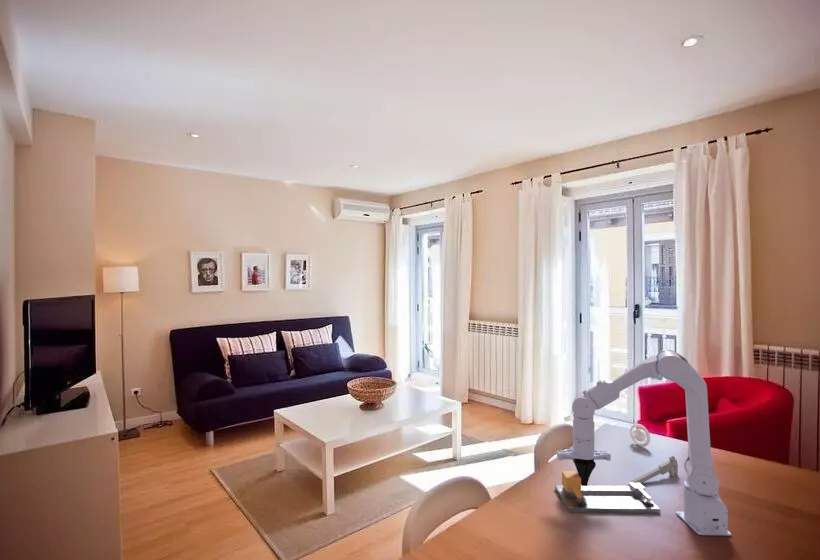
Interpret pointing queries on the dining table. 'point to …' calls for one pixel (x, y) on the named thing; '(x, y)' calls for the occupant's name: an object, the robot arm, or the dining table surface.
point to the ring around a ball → (640, 435)
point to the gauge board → (609, 499)
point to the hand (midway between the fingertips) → (583, 484)
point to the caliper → (659, 471)
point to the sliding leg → (572, 483)
